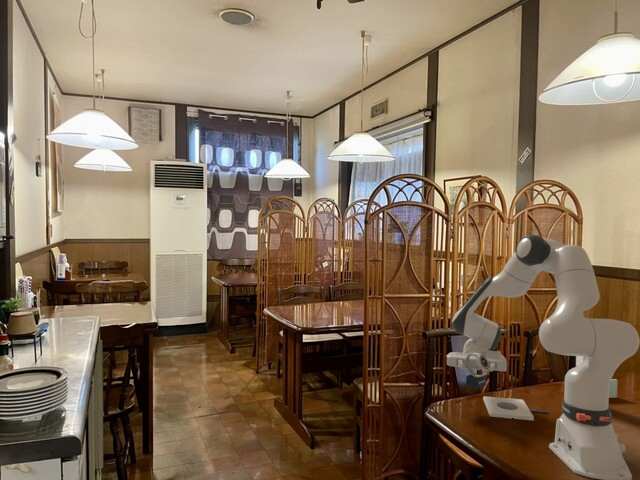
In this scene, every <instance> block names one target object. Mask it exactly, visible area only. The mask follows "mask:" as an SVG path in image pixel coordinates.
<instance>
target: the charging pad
mask: <svg viewBox="0 0 640 480" xmlns="http://www.w3.org/2000/svg"><path fill="white" fill-rule="evenodd" d="M482 400H483V402H484V404H485V407H486V409H487V410H486V411H487V412H488V415H489V417H494V418H502V417H503V418H502V419H512V418H514V420H523V421H524V420H525V421H535V416H534V415H533V413H542V414H543V413H544V414H549V413H550V411H549V410H545V409H544V410H543V409H542V410H541V409H534V408H533V409H532V408H529V407H528V405H527V404H526V402H525V400H524V399H519V398H509V397H508V398H506V397H494V396H483V399H482ZM532 412H533V413H532Z"/></svg>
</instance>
